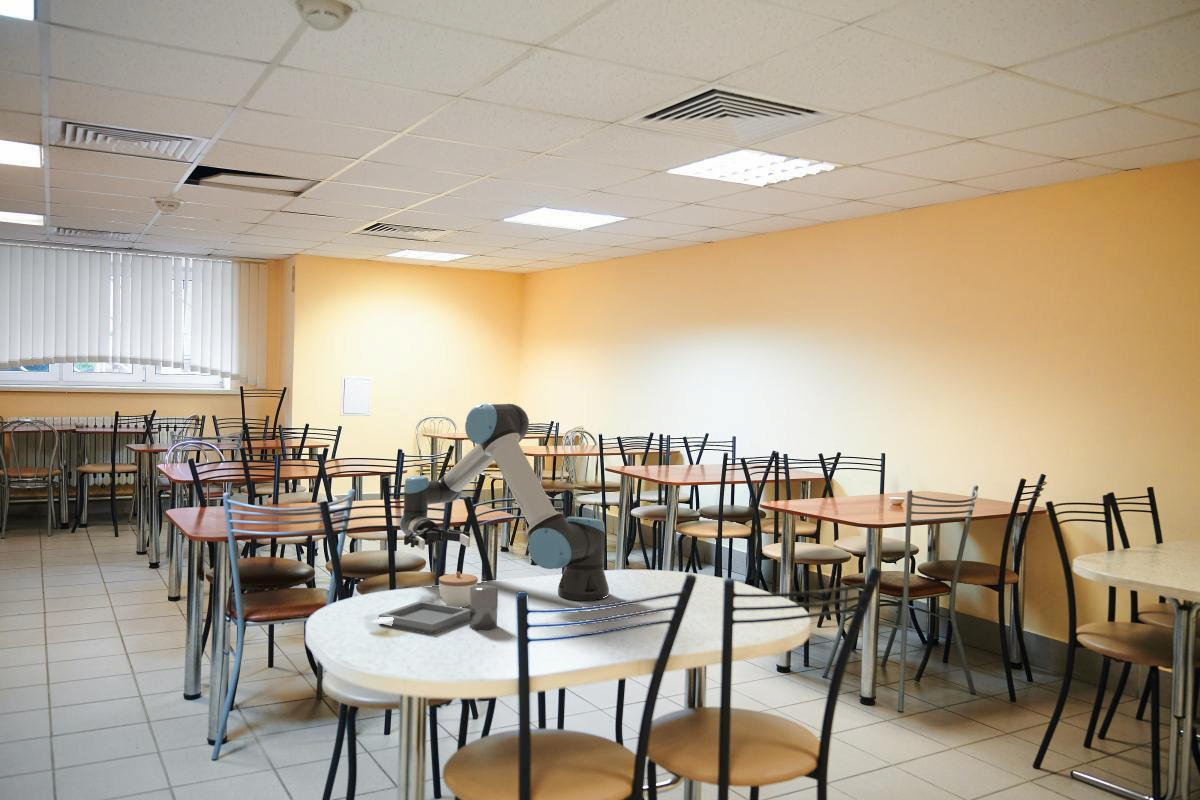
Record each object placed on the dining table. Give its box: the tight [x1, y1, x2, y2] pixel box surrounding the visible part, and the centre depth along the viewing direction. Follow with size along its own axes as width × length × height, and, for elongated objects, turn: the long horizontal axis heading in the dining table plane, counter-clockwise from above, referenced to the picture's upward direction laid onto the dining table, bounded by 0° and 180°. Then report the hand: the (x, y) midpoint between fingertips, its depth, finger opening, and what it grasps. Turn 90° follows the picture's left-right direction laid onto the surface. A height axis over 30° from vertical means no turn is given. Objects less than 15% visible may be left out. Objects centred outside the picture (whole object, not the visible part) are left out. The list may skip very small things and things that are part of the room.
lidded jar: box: [438, 571, 479, 608], centre depth 245 cm, size 11×11×9 cm
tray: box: [378, 600, 470, 635], centre depth 228 cm, size 17×17×2 cm
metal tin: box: [468, 584, 499, 631], centre depth 225 cm, size 7×7×10 cm
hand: (446, 543), depth 254 cm, fingers open, 13 cm apart
